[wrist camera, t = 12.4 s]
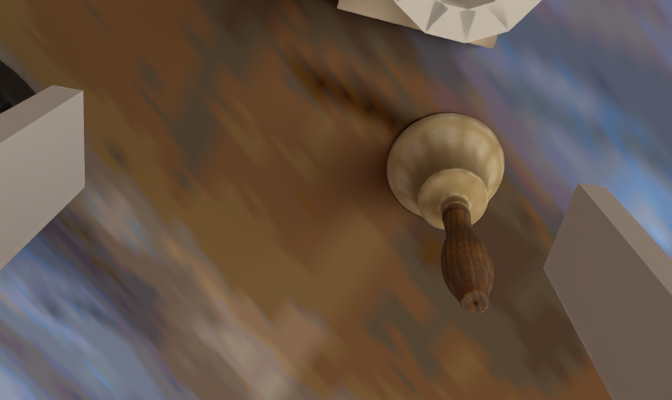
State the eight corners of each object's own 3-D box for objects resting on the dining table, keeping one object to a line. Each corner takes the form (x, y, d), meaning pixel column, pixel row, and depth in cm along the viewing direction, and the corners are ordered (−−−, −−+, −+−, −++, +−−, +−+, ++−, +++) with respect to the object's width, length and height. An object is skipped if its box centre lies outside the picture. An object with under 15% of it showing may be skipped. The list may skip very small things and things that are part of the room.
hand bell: (454, 238, 43) (491, 394, 29) (364, 181, 42) (356, 317, 27) (528, 154, 40) (612, 284, 26) (433, 88, 38) (466, 189, 24)
